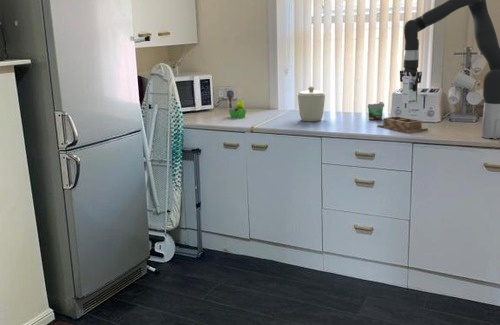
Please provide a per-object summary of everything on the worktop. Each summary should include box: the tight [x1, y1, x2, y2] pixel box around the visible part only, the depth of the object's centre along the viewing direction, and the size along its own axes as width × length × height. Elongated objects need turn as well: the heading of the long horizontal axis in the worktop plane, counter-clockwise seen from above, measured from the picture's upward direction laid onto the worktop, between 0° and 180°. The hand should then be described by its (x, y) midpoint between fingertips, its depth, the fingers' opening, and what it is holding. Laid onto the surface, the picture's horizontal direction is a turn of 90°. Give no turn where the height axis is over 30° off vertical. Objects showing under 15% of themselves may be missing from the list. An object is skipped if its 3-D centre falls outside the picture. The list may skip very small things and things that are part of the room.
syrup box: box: [401, 76, 419, 105], centre depth 272 cm, size 6×6×14 cm
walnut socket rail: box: [377, 115, 429, 134], centre depth 281 cm, size 24×14×5 cm, turn 27°
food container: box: [367, 101, 385, 121], centre depth 308 cm, size 12×6×10 cm, turn 129°
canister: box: [296, 86, 327, 122], centre depth 312 cm, size 18×18×21 cm
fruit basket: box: [228, 99, 247, 120], centre depth 335 cm, size 11×9×11 cm
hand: (409, 90), depth 272 cm, fingers closed on syrup box, 6 cm apart
